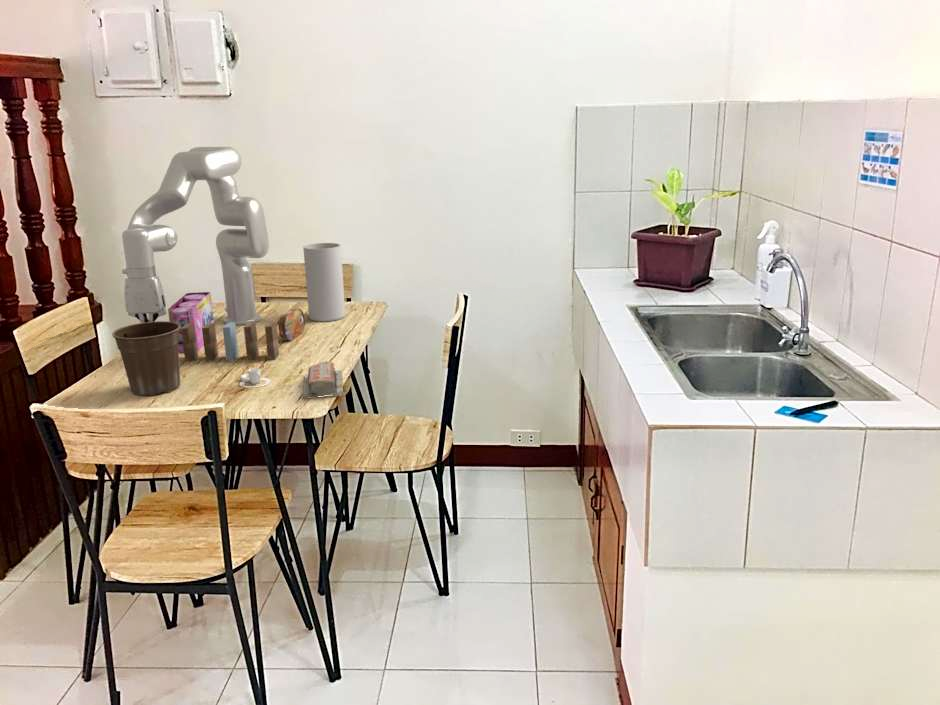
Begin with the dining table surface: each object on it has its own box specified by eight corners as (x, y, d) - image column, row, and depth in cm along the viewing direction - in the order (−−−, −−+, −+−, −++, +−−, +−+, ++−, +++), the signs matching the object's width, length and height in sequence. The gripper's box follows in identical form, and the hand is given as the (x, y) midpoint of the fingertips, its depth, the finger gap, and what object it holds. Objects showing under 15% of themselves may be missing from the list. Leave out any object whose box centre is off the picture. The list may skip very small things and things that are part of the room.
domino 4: (247, 360, 229) (243, 327, 226) (252, 354, 234) (248, 322, 232) (254, 360, 229) (250, 326, 226) (258, 354, 234) (255, 322, 232)
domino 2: (205, 361, 229) (201, 327, 226) (211, 355, 234) (207, 323, 232) (212, 361, 229) (208, 327, 226) (218, 355, 234) (214, 322, 232)
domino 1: (185, 361, 229) (180, 328, 226) (191, 356, 234) (187, 323, 232) (192, 361, 229) (187, 328, 226) (198, 355, 234) (194, 323, 232)
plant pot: (111, 400, 199) (101, 338, 194) (134, 379, 214) (125, 322, 210) (177, 398, 200) (168, 336, 195) (195, 377, 215) (187, 320, 210)
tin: (287, 343, 245) (285, 317, 243) (278, 343, 246) (275, 317, 243) (306, 330, 259) (304, 305, 257) (297, 330, 260) (295, 305, 257)
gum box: (197, 353, 238) (192, 309, 234) (170, 354, 237) (164, 310, 233) (215, 332, 260) (211, 291, 256) (191, 333, 260) (186, 292, 256)
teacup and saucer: (238, 381, 213) (236, 366, 212) (268, 377, 216) (266, 362, 214) (241, 391, 205) (239, 376, 204) (272, 386, 208) (271, 372, 207)
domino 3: (226, 360, 229) (222, 327, 226) (231, 355, 234) (228, 322, 232) (233, 360, 229) (229, 327, 226) (238, 355, 234) (235, 322, 232)
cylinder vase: (304, 321, 270) (298, 249, 263) (315, 312, 282) (309, 242, 275) (340, 322, 269) (334, 249, 261) (349, 313, 281) (344, 242, 273)
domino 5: (268, 359, 229) (264, 326, 226) (272, 354, 234) (269, 321, 232) (275, 359, 229) (271, 326, 226) (279, 354, 234) (276, 321, 232)
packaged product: (342, 379, 197) (301, 382, 196) (343, 397, 199) (303, 400, 197) (341, 358, 214) (303, 361, 213) (342, 375, 216) (305, 378, 214)
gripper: (109, 276, 221) (119, 339, 226) (163, 275, 221) (171, 338, 226) (120, 270, 228) (129, 332, 233) (172, 269, 228) (180, 331, 233)
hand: (150, 335), depth 230 cm, fingers closed
